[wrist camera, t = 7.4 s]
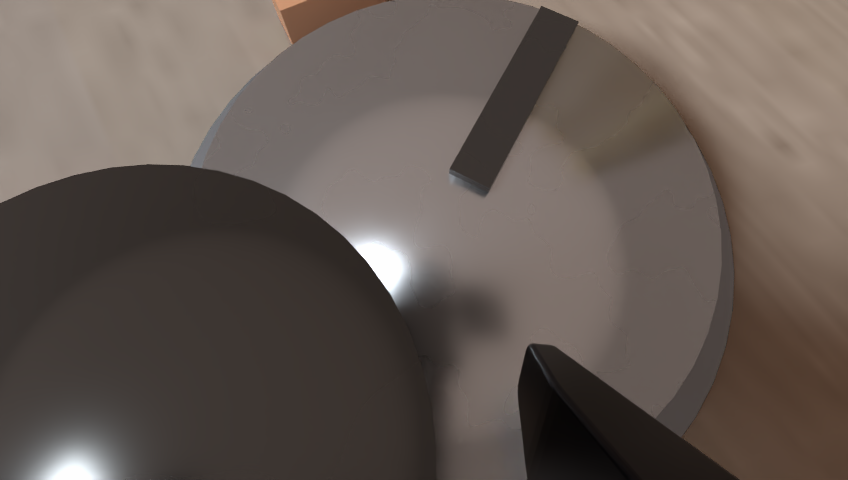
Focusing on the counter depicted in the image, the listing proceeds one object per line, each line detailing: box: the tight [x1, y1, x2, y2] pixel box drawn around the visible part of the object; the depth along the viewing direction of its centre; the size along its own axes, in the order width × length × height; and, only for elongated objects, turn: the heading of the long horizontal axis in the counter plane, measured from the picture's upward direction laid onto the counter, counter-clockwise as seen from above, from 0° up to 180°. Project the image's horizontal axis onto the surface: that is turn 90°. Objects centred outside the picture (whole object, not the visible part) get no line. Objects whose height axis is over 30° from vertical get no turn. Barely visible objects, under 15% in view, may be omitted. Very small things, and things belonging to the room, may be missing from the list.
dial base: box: [191, 0, 734, 437], centre depth 14 cm, size 17×18×2 cm
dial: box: [0, 0, 722, 480], centre depth 9 cm, size 14×14×11 cm
